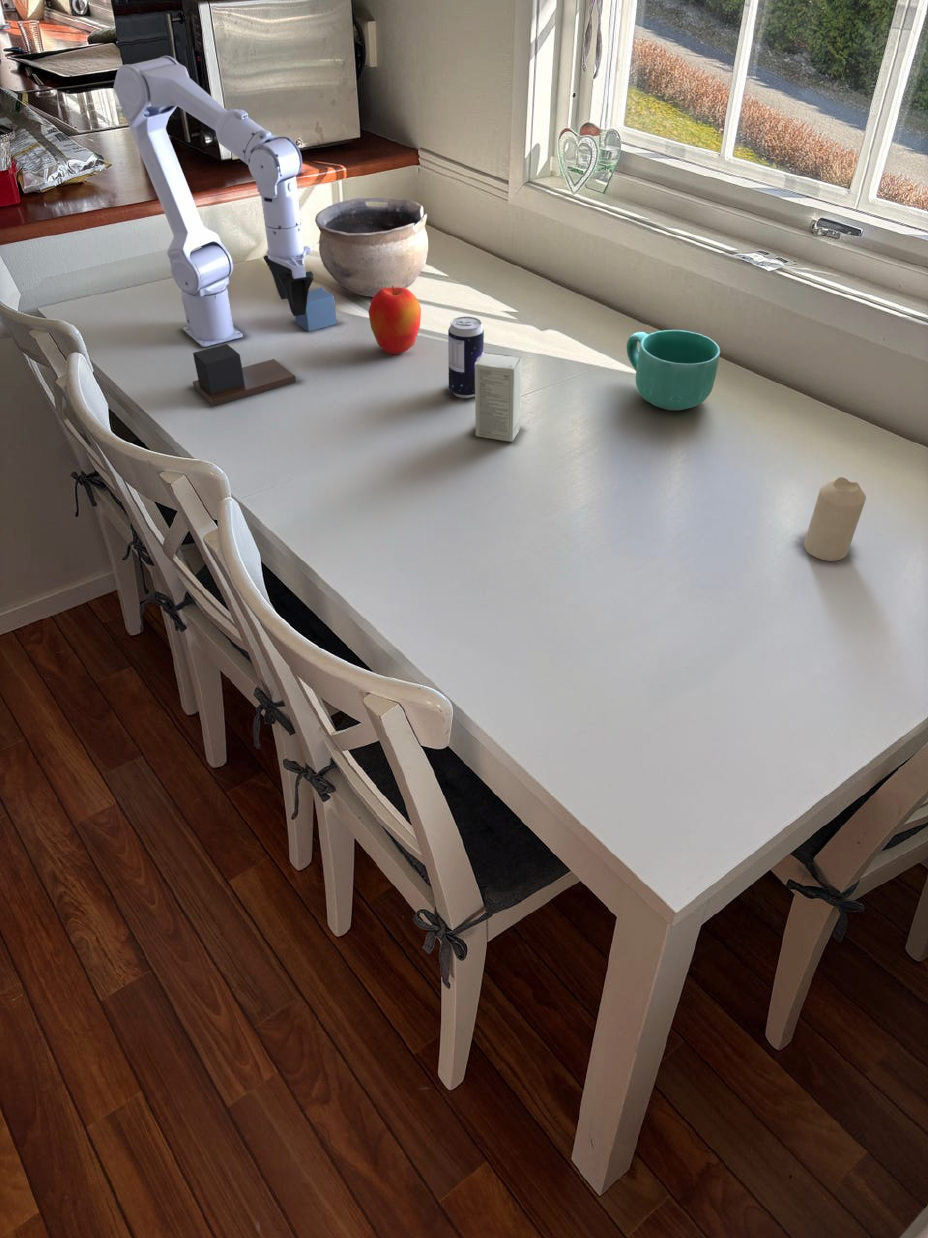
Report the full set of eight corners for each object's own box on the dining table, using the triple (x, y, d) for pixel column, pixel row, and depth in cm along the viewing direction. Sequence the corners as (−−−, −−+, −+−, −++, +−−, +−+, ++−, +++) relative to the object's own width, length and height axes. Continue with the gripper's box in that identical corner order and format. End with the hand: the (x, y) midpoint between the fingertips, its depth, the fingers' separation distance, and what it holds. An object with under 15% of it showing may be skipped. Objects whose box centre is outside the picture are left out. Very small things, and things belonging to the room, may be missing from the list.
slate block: (308, 331, 172) (305, 302, 168) (296, 322, 175) (292, 294, 171) (336, 324, 175) (334, 295, 171) (323, 315, 178) (321, 287, 174)
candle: (797, 537, 123) (816, 472, 116) (837, 535, 123) (858, 471, 117) (812, 562, 119) (833, 497, 112) (854, 560, 119) (876, 495, 112)
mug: (726, 406, 150) (737, 351, 144) (669, 426, 145) (678, 370, 139) (657, 368, 161) (664, 315, 155) (601, 386, 156) (607, 332, 149)
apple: (391, 367, 161) (388, 299, 153) (360, 350, 166) (355, 283, 158) (432, 351, 166) (431, 285, 158) (401, 336, 171) (398, 270, 163)
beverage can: (479, 401, 151) (480, 331, 144) (445, 398, 152) (444, 328, 144) (485, 385, 156) (487, 316, 148) (452, 382, 156) (452, 313, 149)
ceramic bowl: (426, 311, 179) (424, 231, 169) (315, 310, 179) (306, 231, 170) (431, 270, 196) (429, 195, 186) (329, 269, 196) (322, 194, 186)
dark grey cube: (198, 383, 153) (192, 352, 150) (232, 374, 156) (226, 343, 152) (211, 395, 150) (205, 363, 147) (245, 385, 153) (239, 354, 149)
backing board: (193, 387, 155) (192, 381, 154) (274, 365, 161) (273, 358, 161) (213, 406, 150) (212, 399, 149) (295, 382, 156) (295, 375, 156)
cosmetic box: (520, 429, 144) (523, 356, 136) (512, 443, 141) (515, 369, 133) (482, 423, 146) (483, 350, 138) (473, 436, 143) (474, 362, 135)
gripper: (320, 233, 144) (328, 318, 153) (294, 206, 154) (303, 287, 163) (276, 239, 142) (286, 325, 151) (252, 212, 152) (264, 293, 161)
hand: (292, 306), depth 156 cm, fingers open, 7 cm apart
